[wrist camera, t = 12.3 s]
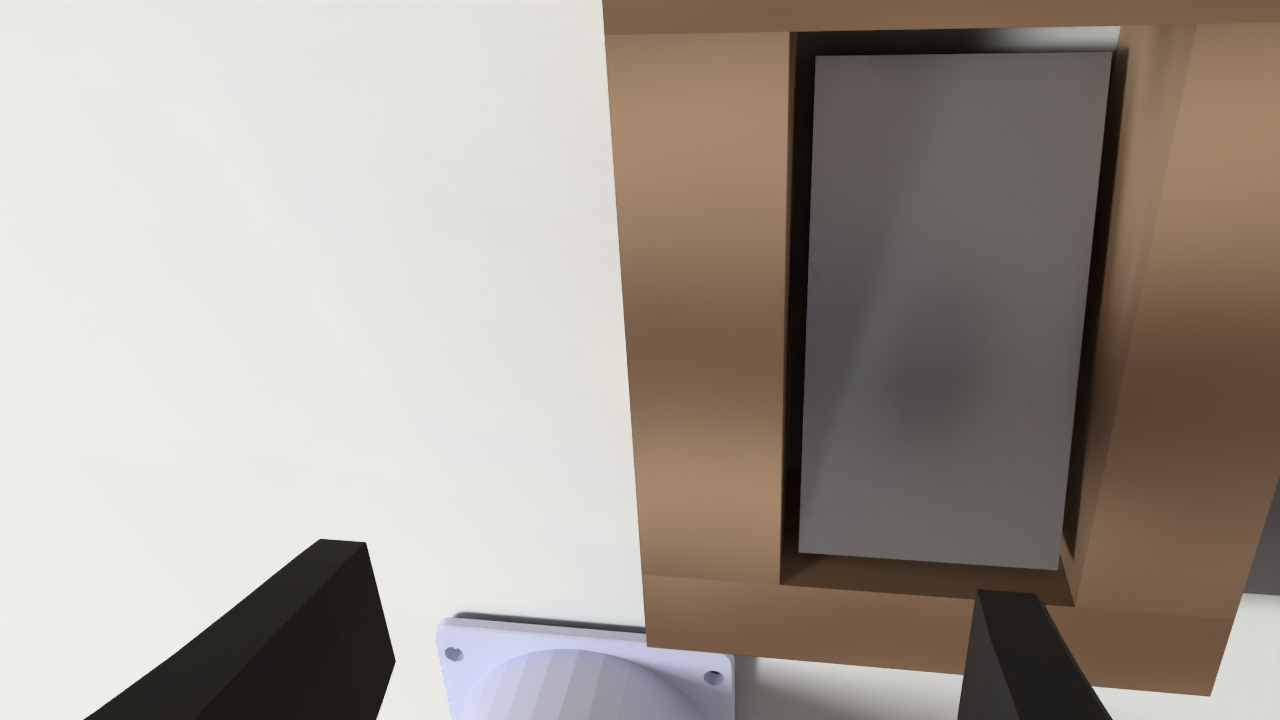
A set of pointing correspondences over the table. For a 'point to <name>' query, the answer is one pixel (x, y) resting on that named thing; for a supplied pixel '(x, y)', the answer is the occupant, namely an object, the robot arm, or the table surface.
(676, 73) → the walnut board
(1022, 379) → the tipping switch rocker
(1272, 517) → the slate mat
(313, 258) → the table surface
